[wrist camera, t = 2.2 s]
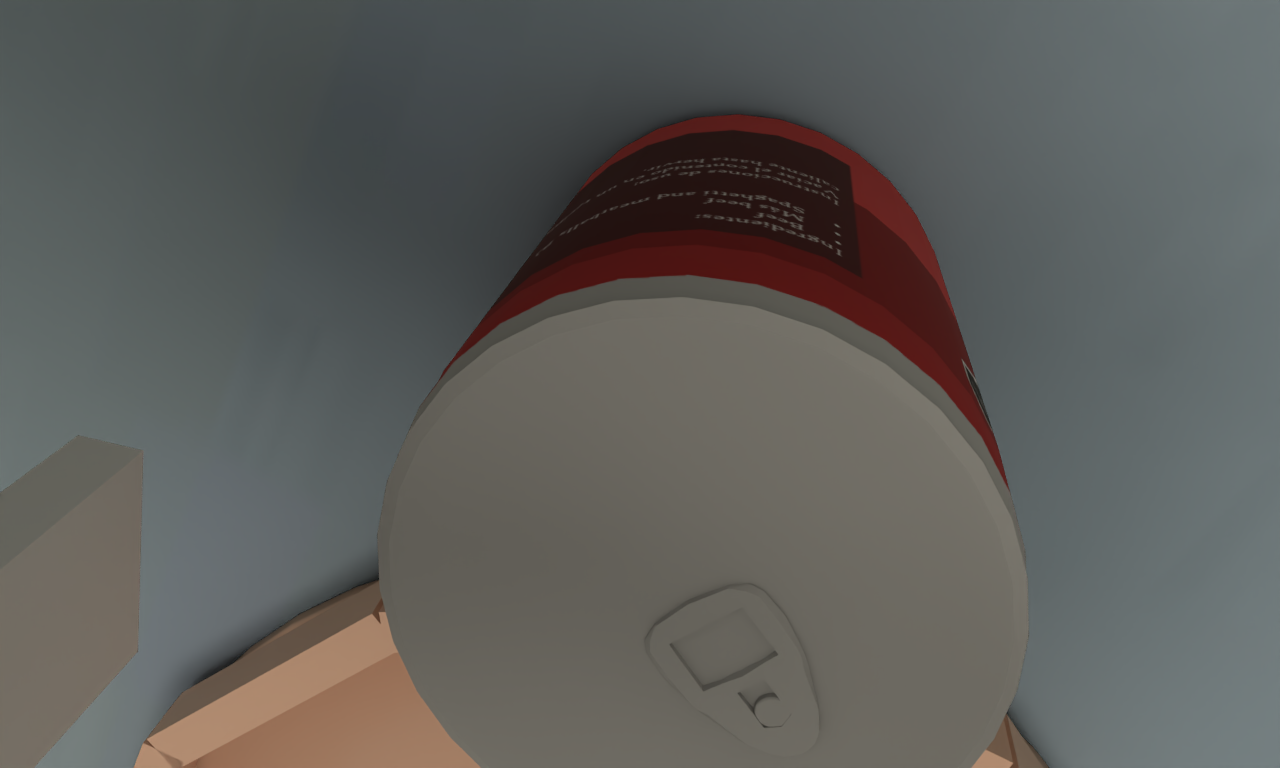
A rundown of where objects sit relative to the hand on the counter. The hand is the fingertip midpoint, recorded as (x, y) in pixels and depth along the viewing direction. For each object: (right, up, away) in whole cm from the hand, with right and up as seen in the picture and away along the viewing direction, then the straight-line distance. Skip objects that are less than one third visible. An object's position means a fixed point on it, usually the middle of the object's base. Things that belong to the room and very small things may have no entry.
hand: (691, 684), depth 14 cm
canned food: (+2, +5, +11) cm, 12 cm away
